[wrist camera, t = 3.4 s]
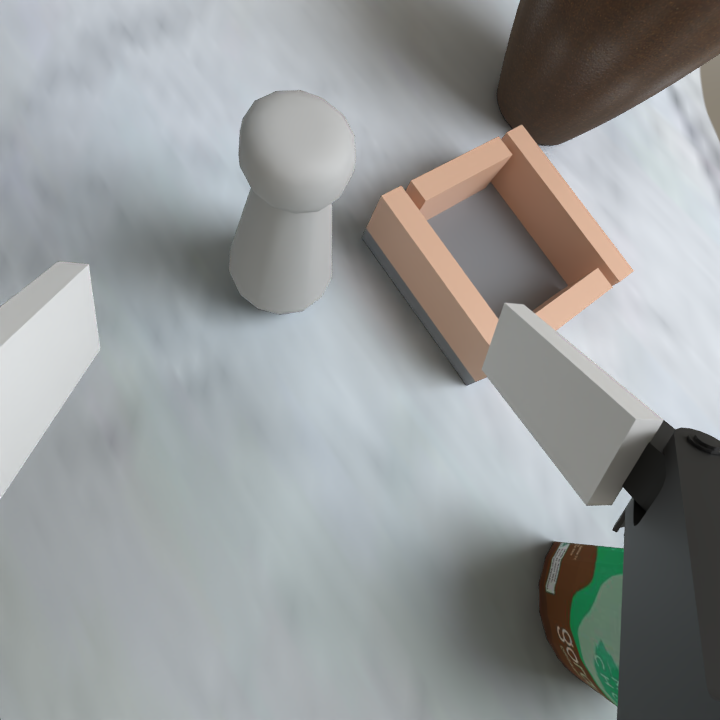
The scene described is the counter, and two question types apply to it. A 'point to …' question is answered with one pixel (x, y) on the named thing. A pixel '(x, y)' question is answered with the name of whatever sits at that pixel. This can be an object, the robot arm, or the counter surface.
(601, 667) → the food container
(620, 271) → the socket board
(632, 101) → the plant pot
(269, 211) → the salt shaker
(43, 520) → the counter surface
